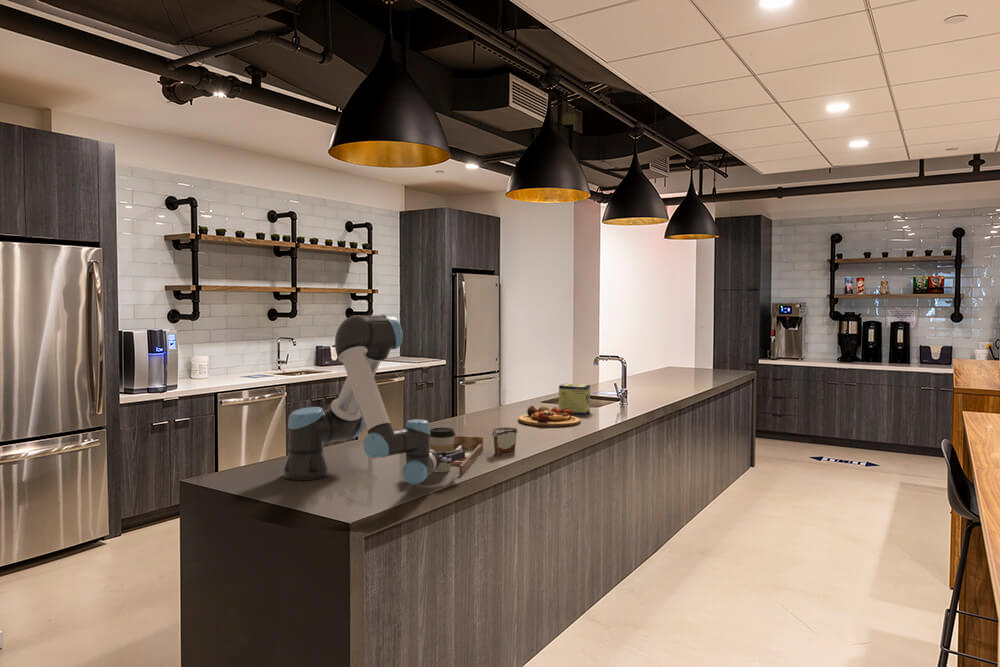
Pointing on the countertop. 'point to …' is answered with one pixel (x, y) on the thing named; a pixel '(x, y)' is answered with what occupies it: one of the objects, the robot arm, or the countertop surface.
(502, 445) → the food container
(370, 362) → the robot arm
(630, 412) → the countertop surface
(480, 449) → the wooden frame with crossbars
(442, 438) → the coffee cup
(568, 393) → the protein box
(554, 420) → the wooden plate with food
